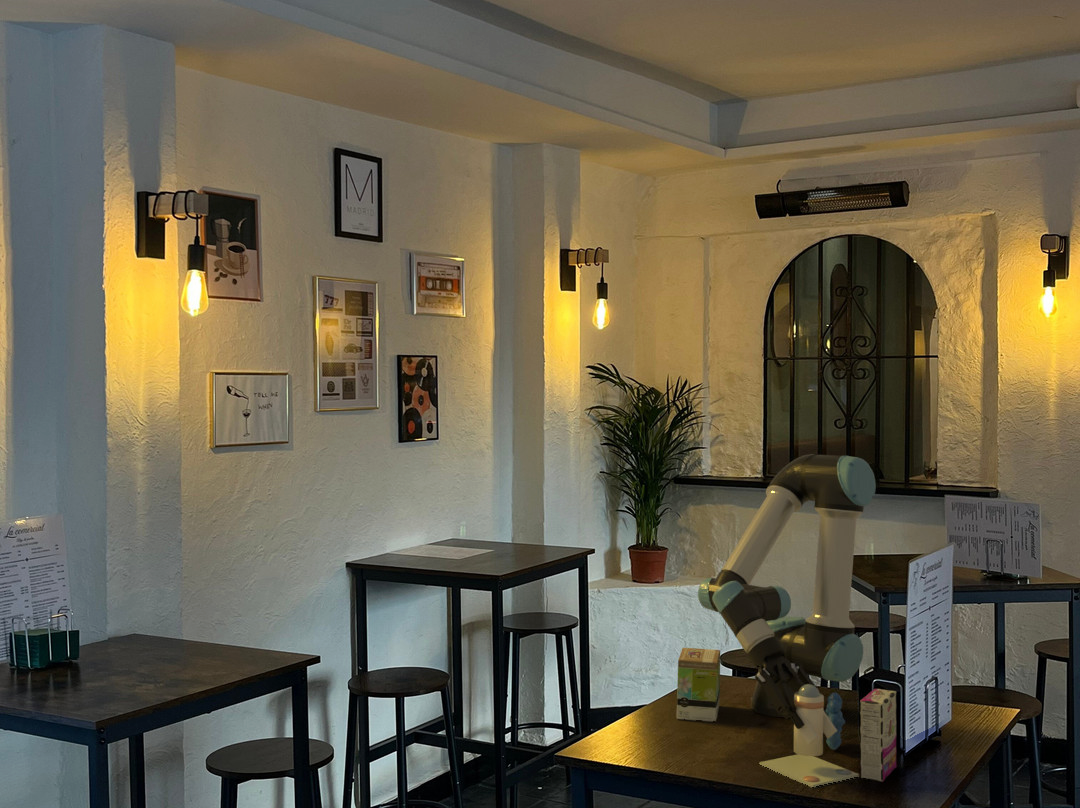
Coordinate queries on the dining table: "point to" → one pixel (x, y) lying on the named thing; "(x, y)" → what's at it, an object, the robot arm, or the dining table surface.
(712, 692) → the tea box
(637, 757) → the dining table surface
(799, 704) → the ball tube
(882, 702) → the candy bar box
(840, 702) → the grapes
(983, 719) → the dining table surface
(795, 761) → the card
